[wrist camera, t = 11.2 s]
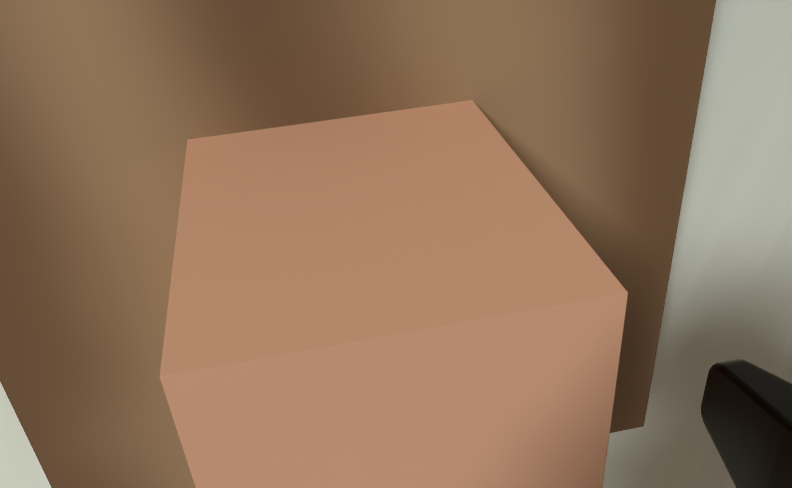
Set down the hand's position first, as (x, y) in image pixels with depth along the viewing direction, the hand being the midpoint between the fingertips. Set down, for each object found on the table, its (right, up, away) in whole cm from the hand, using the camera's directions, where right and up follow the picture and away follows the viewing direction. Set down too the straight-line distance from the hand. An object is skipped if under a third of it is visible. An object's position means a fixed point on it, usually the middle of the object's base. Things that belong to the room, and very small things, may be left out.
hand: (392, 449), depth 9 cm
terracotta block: (-1, +3, +4) cm, 5 cm away
